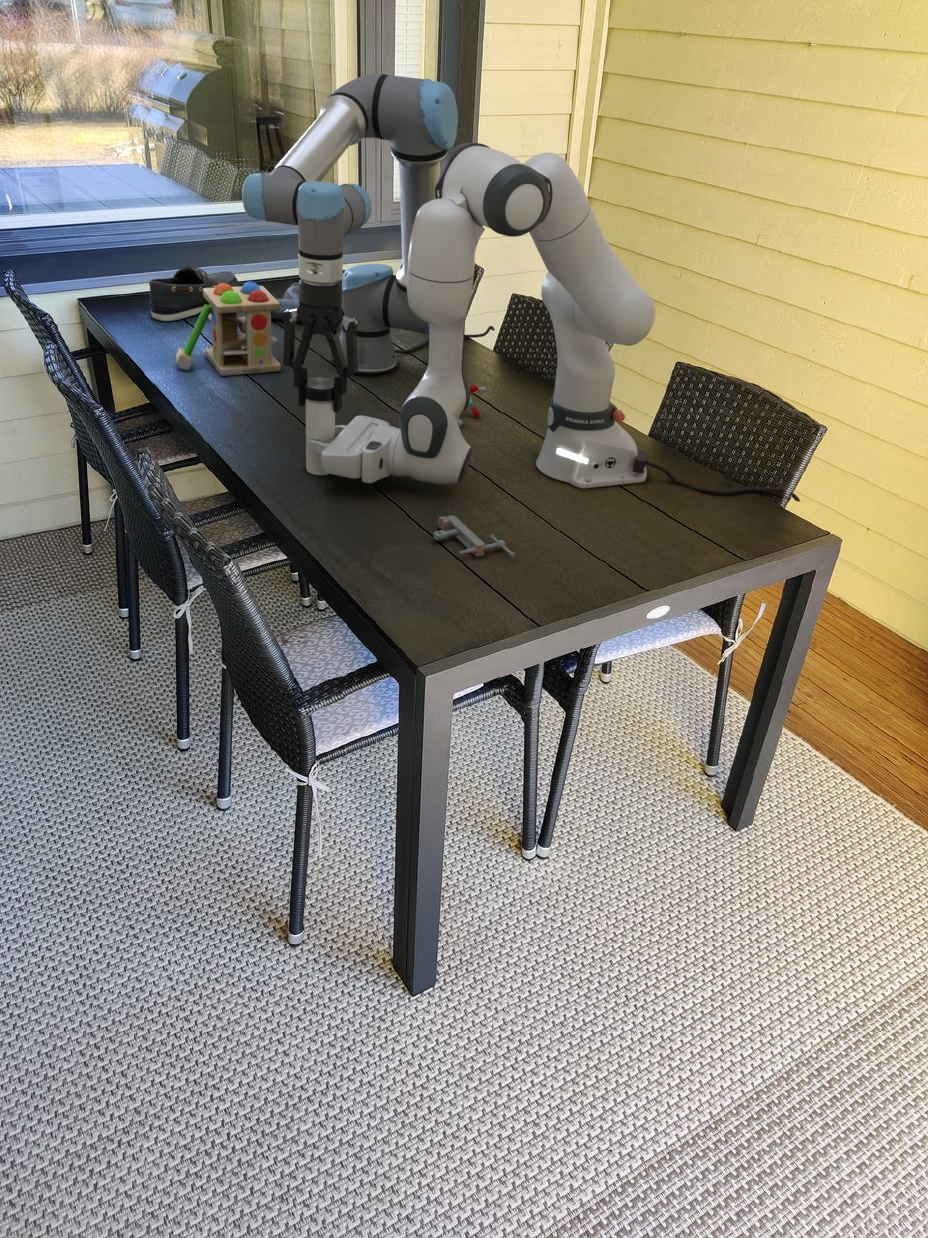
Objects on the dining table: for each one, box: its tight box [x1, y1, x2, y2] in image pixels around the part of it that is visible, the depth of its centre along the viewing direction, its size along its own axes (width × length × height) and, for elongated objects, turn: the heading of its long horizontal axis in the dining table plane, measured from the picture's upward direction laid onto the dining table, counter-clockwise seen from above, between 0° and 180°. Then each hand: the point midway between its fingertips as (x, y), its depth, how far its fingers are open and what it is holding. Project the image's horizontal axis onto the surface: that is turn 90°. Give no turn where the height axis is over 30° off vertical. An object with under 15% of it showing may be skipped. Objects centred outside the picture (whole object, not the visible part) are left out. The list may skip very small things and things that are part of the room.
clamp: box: [433, 515, 517, 559], centre depth 169 cm, size 15×2×10 cm
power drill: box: [271, 282, 302, 322], centre depth 265 cm, size 5×19×20 cm
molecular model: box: [457, 384, 487, 427], centre depth 214 cm, size 12×10×10 cm
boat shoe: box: [148, 265, 240, 322], centre depth 262 cm, size 13×33×10 cm, turn 147°
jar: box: [305, 398, 336, 476], centre depth 185 cm, size 5×5×16 cm
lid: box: [303, 376, 334, 402], centre depth 181 cm, size 6×6×2 cm
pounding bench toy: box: [174, 281, 282, 377], centre depth 225 cm, size 23×14×18 cm, turn 116°
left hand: (320, 406), depth 182 cm, fingers closed on lid, 6 cm apart
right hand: (315, 436), depth 186 cm, fingers closed on jar, 5 cm apart
